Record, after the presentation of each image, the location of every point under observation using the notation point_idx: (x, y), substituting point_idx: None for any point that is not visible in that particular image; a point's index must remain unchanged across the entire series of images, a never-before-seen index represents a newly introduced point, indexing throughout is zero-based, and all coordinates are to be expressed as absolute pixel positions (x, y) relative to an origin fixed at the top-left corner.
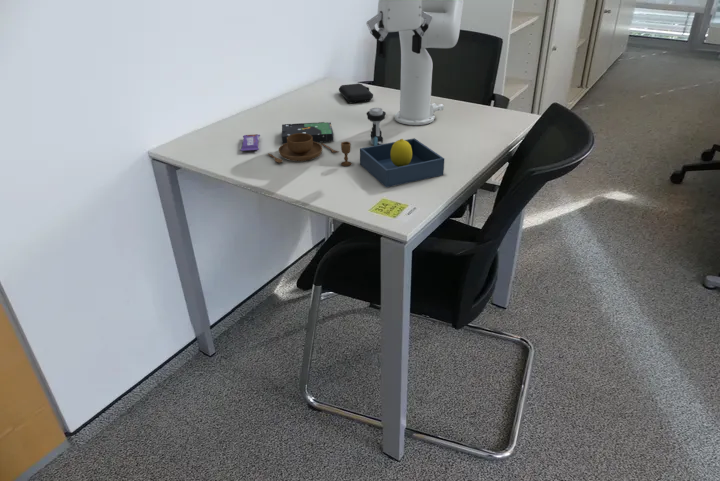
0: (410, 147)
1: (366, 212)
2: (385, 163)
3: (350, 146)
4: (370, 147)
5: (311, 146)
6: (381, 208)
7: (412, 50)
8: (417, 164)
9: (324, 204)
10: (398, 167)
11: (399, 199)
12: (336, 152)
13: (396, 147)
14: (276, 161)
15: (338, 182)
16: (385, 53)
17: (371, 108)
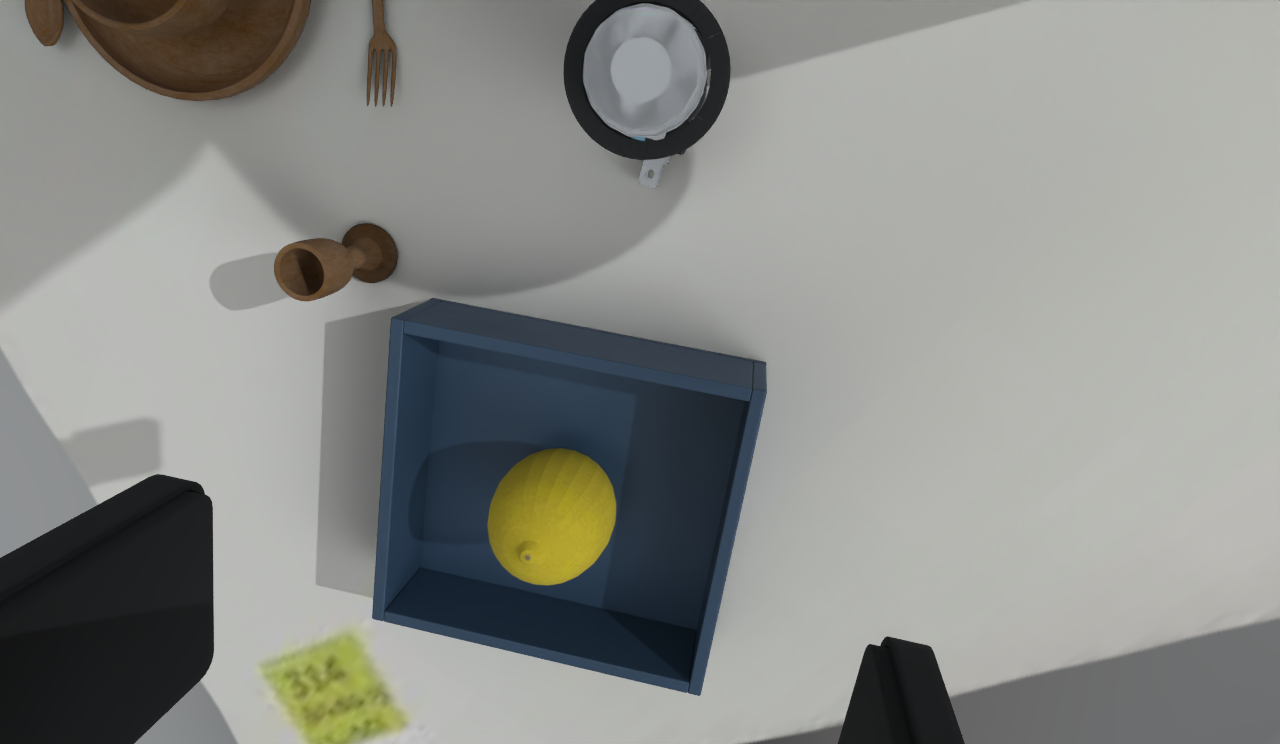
0: (572, 578)
1: (247, 670)
2: (543, 382)
3: (336, 287)
4: (452, 342)
5: (209, 19)
6: (309, 682)
7: (862, 671)
8: (541, 656)
9: None
10: (439, 629)
11: (404, 674)
12: (375, 96)
13: (492, 548)
14: (28, 20)
15: (253, 404)
16: (159, 713)
17: (625, 13)
